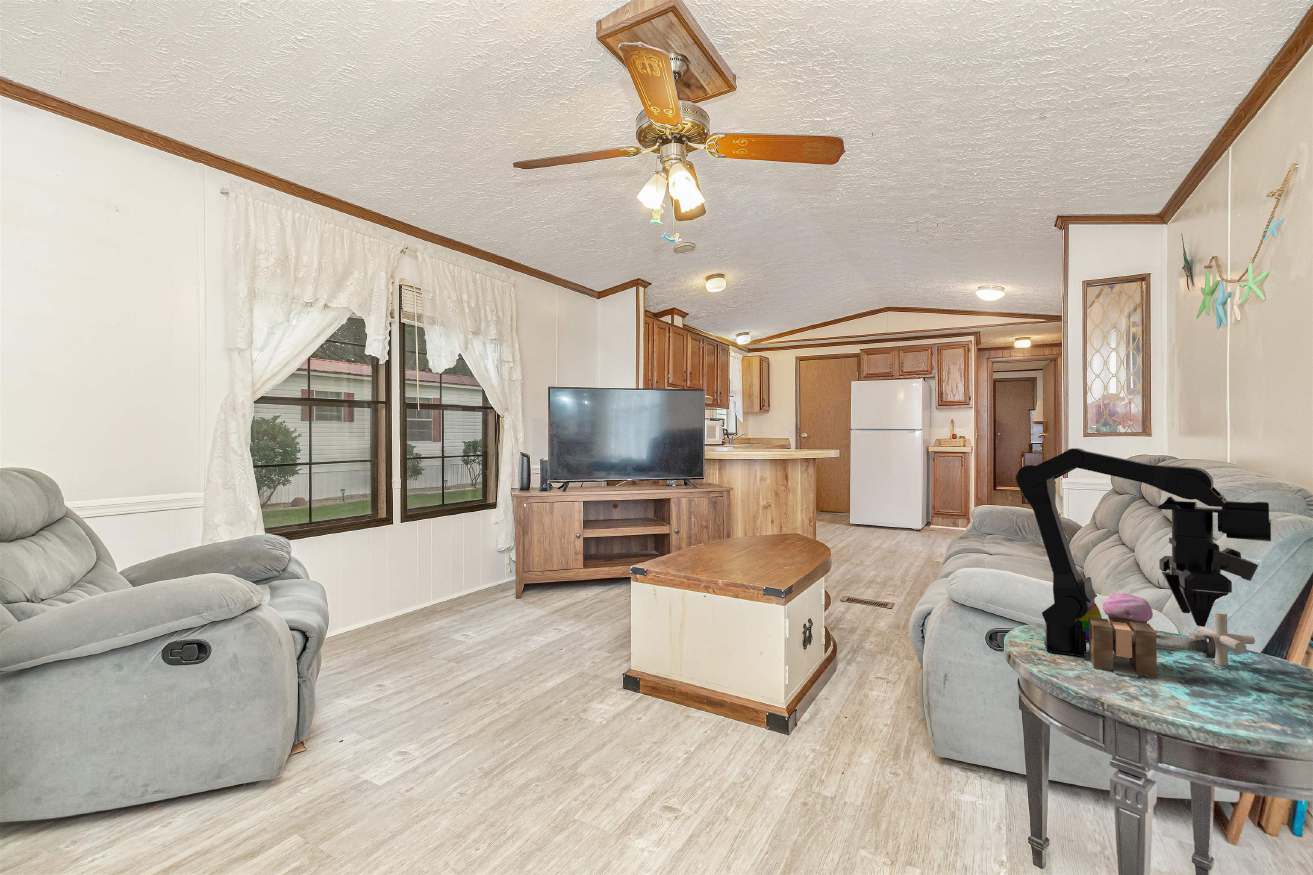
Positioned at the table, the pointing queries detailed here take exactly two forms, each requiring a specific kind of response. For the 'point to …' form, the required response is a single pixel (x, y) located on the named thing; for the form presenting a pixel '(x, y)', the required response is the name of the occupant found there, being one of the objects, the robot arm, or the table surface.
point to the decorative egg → (1085, 620)
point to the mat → (1123, 667)
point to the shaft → (1184, 644)
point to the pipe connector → (1223, 638)
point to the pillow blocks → (1141, 650)
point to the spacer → (1122, 640)
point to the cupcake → (1127, 608)
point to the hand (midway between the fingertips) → (1193, 619)
